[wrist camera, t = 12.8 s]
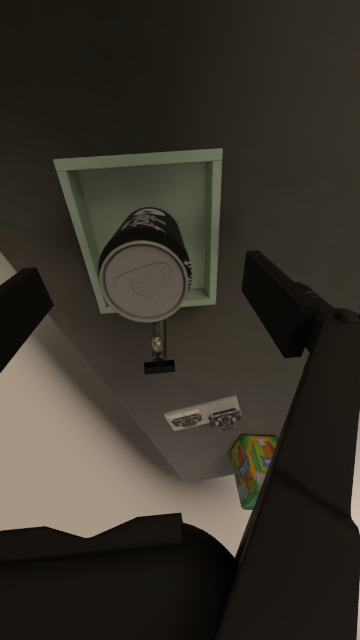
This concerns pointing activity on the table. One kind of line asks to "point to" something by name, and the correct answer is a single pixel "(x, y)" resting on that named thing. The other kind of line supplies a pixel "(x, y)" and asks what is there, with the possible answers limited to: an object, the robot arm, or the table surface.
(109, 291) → the beverage can
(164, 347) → the tap
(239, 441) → the chalk box
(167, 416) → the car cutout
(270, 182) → the table surface
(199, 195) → the sink
